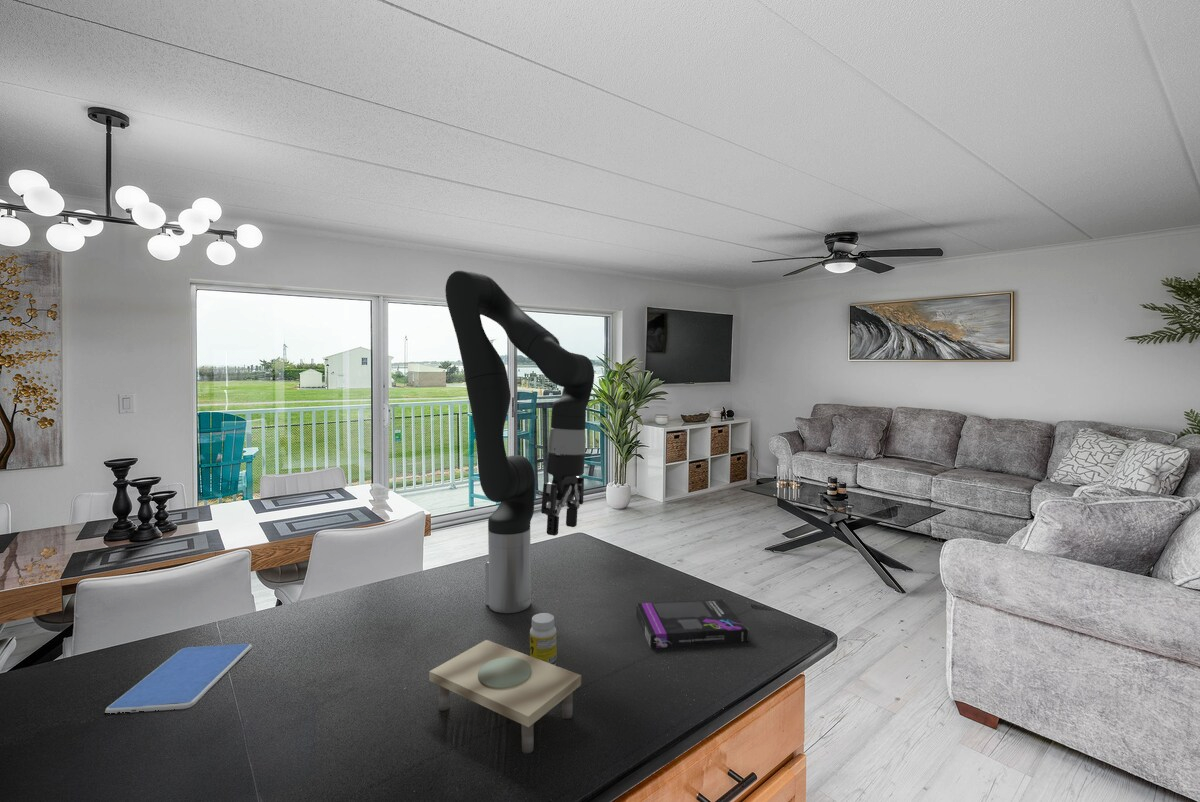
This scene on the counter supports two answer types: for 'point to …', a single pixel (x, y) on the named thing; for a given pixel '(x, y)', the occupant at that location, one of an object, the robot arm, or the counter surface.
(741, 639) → the box
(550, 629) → the supplement bottle
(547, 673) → the shelf stand
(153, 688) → the tablet computer
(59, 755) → the counter surface
